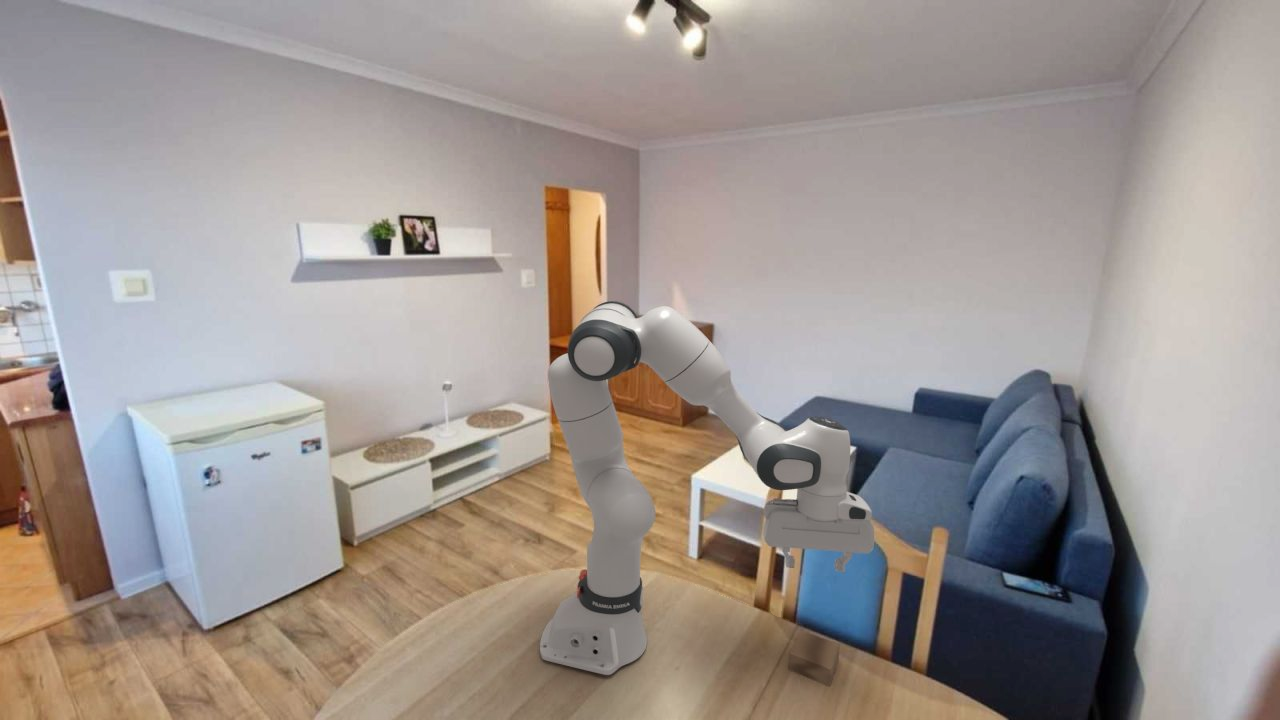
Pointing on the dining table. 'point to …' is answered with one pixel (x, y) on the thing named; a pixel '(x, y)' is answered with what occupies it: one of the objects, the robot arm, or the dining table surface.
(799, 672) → the walnut block
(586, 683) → the dining table surface
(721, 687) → the dining table surface
